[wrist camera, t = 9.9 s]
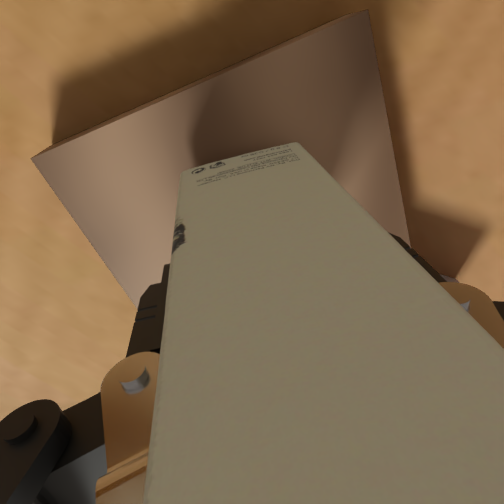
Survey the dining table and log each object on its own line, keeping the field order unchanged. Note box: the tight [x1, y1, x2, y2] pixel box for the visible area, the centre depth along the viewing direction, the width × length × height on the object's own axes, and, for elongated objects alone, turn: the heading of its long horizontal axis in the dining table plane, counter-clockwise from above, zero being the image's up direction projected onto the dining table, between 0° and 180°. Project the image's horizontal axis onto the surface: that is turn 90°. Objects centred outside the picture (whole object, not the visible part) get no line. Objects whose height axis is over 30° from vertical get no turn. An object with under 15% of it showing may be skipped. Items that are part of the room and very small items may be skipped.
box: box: [143, 142, 504, 504], centre depth 8 cm, size 5×4×13 cm
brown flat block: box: [31, 10, 411, 309], centre depth 15 cm, size 12×10×2 cm
